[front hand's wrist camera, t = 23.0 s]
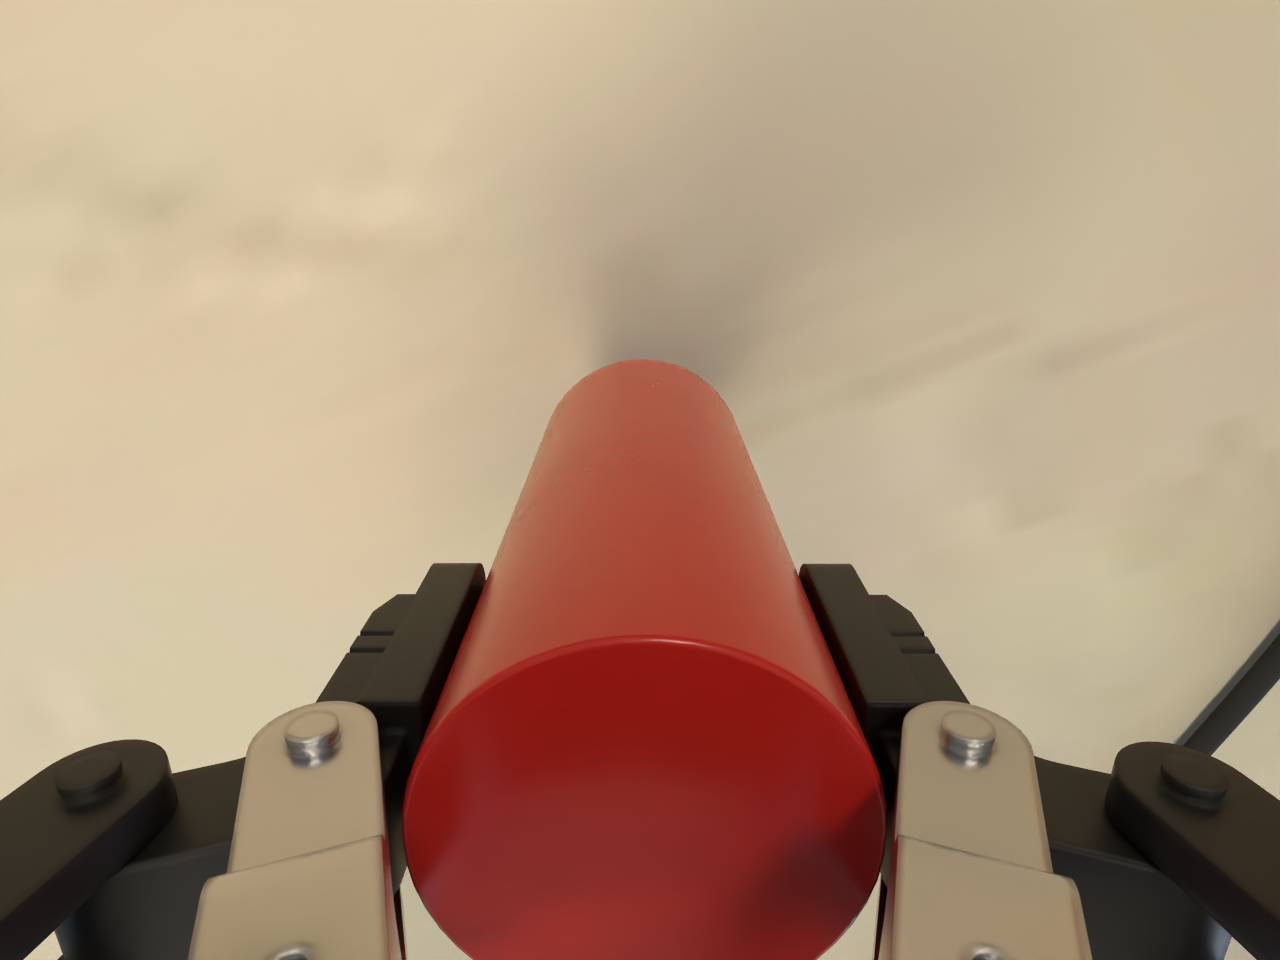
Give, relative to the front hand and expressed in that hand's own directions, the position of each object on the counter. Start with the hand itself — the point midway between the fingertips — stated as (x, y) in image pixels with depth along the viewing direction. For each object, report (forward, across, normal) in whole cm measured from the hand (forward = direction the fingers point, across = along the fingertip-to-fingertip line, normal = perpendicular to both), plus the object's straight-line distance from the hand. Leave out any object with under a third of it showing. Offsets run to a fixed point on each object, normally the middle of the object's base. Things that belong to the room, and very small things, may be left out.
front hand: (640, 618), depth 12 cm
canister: (+8, 0, 0) cm, 8 cm away
